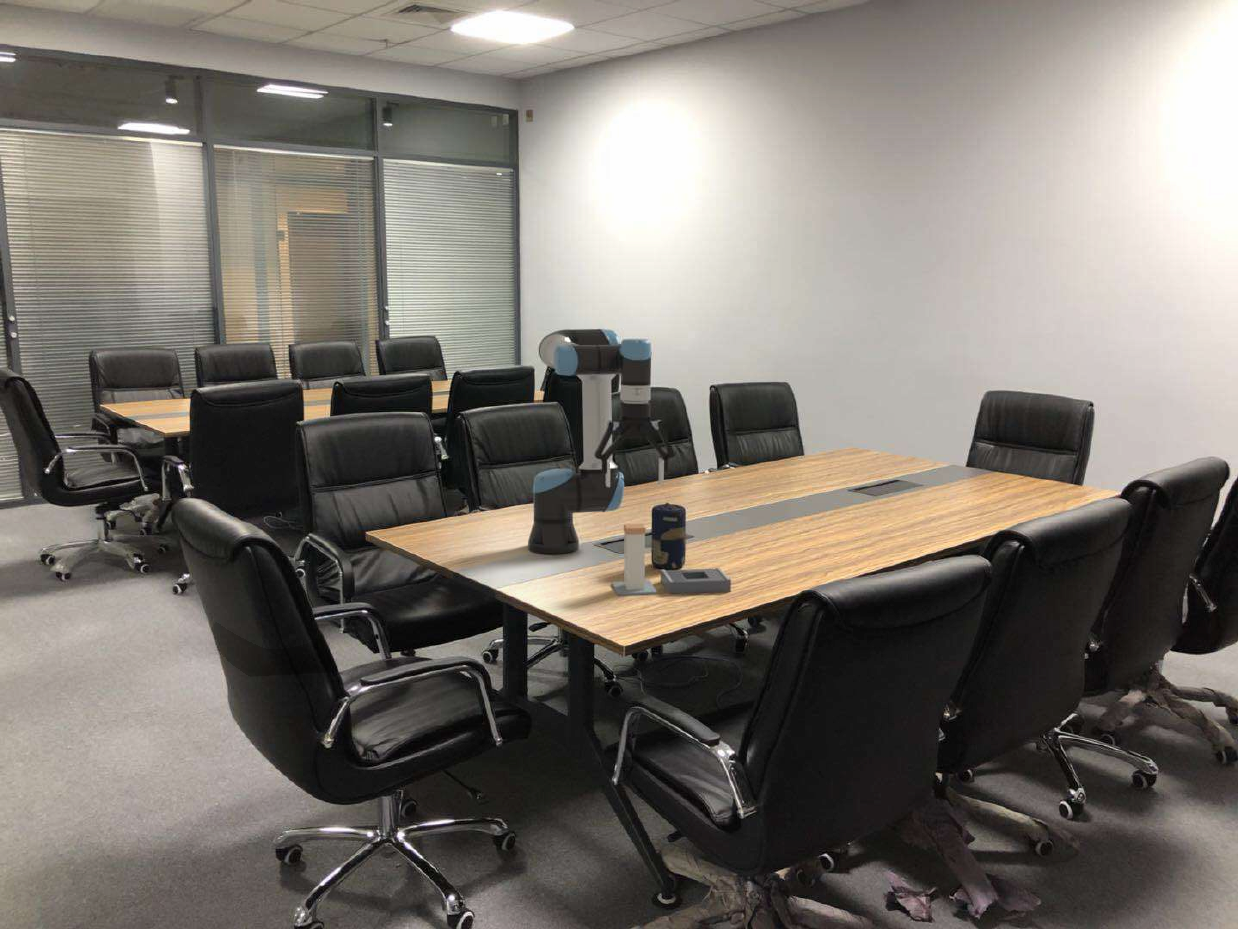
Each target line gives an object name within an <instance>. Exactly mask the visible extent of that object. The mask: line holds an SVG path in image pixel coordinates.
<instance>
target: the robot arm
mask: <svg viewBox="0 0 1238 929" xmlns="http://www.w3.org/2000/svg"><path fill="white" fill-rule="evenodd" d="M652 355H653V353H652V345H651V341H650V340H649V339H646V338H625V339H622V340H621V342H620V339H619V337H618V334H617V333H616V332H615V331H614V330H612V329H604V328H602V329H601V328H590V329H589V328H585V329H584V328H583V329H581V328H580V329H576V328H575V329H570V328H569V329H559V330H556V331H553V332H549V334H547V335H546V336H544V337H543V338H542V340H540V343H539V346H538V357H539V358H540V360H541V361H542V363H543V364H544V365H546V366H548V367H549V368H553V369H554V370H555V371H554V372H555V373H556V375H559V376H569V377H570V376H577V377H578V378H579V379H580V380H581V383H582V384H581V385H582V386H581V389H582V390H581V391H582V436H583V437H582V439H583V440H582V442H583V461H582V463H581V464H580V466H578V473H574V472H573V470H572V469H570V468H554V469H549V470H545V471H541V472H540V473H537V474H536V475H535V476H534V478H533V487H532V492H533V524H532V527H531V530H530V533H529V536H528V540H527V548H528V550H529V551H530V552H533V553H537V554H541V555H542V554H545V555H561V554H562V555H563V554H568V553H572V552H575V551H577V550H579V548H580V541H579V537H578V534H577V531H576V528H575V525H574V519H573V518H574V517H573V515H574V514H577V513H578V514H581V513H598V512H602V513H605V512H613V511H616V510H618V509H619V508H620V506H621V504H622V503H623V502H622V501H623V499H624V498H623V497H624V492H625V482H624V481H625V478H624V477H625V476H624V473H622V472H620V471H618V465H617V464H616V463H615V462H614V460H613V454H614V453H615V451H616V450H617V449H618V448H619V447H620V446H621V444H622V443H623V442H624V441H625V440H626V439H629V440H635V439H638V440H642V439H644V438H645V439H646V440H647V441H648V442H649V444H650V445H651V446H652V448H654V449H655V450H656V451H657V453H658V454H659V456H660V457H662V458H658V485H660V487H663V486H664V485H665V484H664V482H665V481H664V478H665V477H664V476H665V473H668V470H669V467H668V466H669V459H670V458H674V457H676V453H675V451H674V448H673V446H672V444H671V442H670V441H669V438H668V436H667V433H666V432H665V430H664V423H663V421H662V420H661V419H657V420H654V421H652V419H651V403H650V402H649V401H651V398H652V397H651V393H652V392H651V390H652V389H651V386H652V385H651V384H652V383H651V379H652V374H651V372H652ZM616 375H620V388H619V389H620V391H619V393H620V400H621V401H622V402H621V403H620V404H619V407H620V408H619V409H620V410H619V411H620V412H619V415H620V416H619V421H612V420H613V418H612V417H613V415H612V412H613V410H612V380H613V379H614V378H615V377H616ZM617 428H619V430H620V431H621V432H620V433H619V434H618V435H617V437H616V438H615V439H614V441H613V431H615V430H616V429H617ZM652 428H654V430H657V432H658V435H659V436H660V438H661V441H662V443H663V445H664V447H665V449H666V451H667V452H665V451H664V450H663V448H662V447H661V446H660V445H659V443H658V442H657V441H656V440H655V438H653V436H652V435H651V434H650V430H651V429H652Z"/></svg>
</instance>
